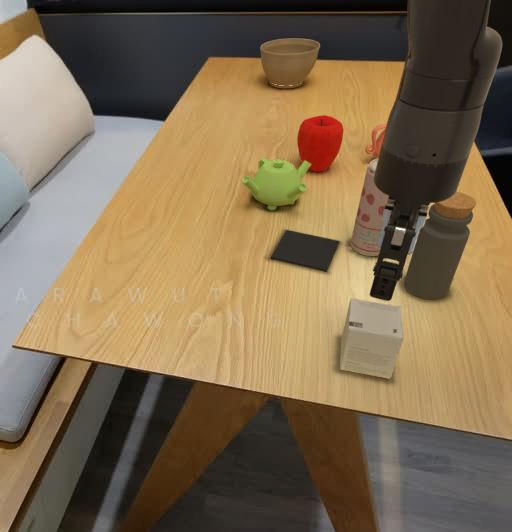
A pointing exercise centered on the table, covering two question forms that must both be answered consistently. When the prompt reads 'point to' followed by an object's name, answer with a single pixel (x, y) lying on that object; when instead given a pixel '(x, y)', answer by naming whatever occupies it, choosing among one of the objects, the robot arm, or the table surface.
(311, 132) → the apple
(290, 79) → the planter bowl
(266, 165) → the teapot
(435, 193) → the robot arm
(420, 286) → the bottle
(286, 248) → the coaster
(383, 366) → the white cardboard box
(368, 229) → the beverage can
